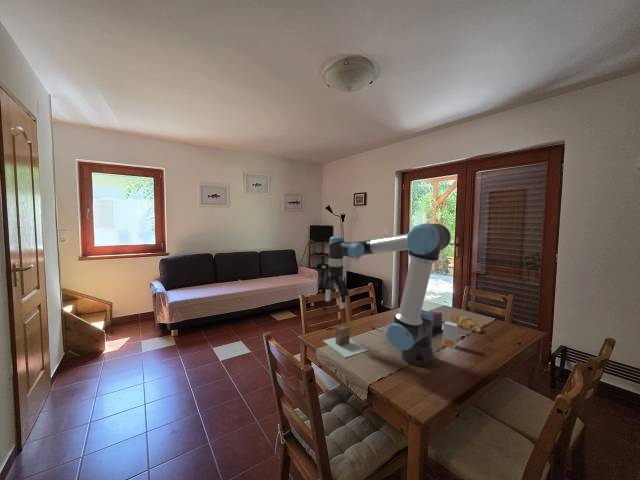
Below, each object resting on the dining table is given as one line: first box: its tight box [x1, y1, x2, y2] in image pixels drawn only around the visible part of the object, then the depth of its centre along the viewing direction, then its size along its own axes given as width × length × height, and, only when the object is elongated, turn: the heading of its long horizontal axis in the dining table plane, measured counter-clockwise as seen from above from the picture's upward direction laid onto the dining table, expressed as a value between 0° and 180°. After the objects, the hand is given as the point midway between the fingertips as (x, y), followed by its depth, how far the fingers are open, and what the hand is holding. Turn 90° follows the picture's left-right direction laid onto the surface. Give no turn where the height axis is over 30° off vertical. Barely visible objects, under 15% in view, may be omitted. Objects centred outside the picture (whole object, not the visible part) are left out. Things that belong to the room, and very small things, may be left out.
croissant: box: [451, 314, 482, 333], centre depth 166 cm, size 21×10×8 cm, turn 20°
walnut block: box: [335, 324, 351, 346], centre depth 140 cm, size 4×6×9 cm, turn 121°
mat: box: [322, 336, 369, 359], centre depth 139 cm, size 20×14×1 cm
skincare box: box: [441, 320, 459, 349], centre depth 140 cm, size 6×4×12 cm
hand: (334, 304), depth 145 cm, fingers open, 13 cm apart
